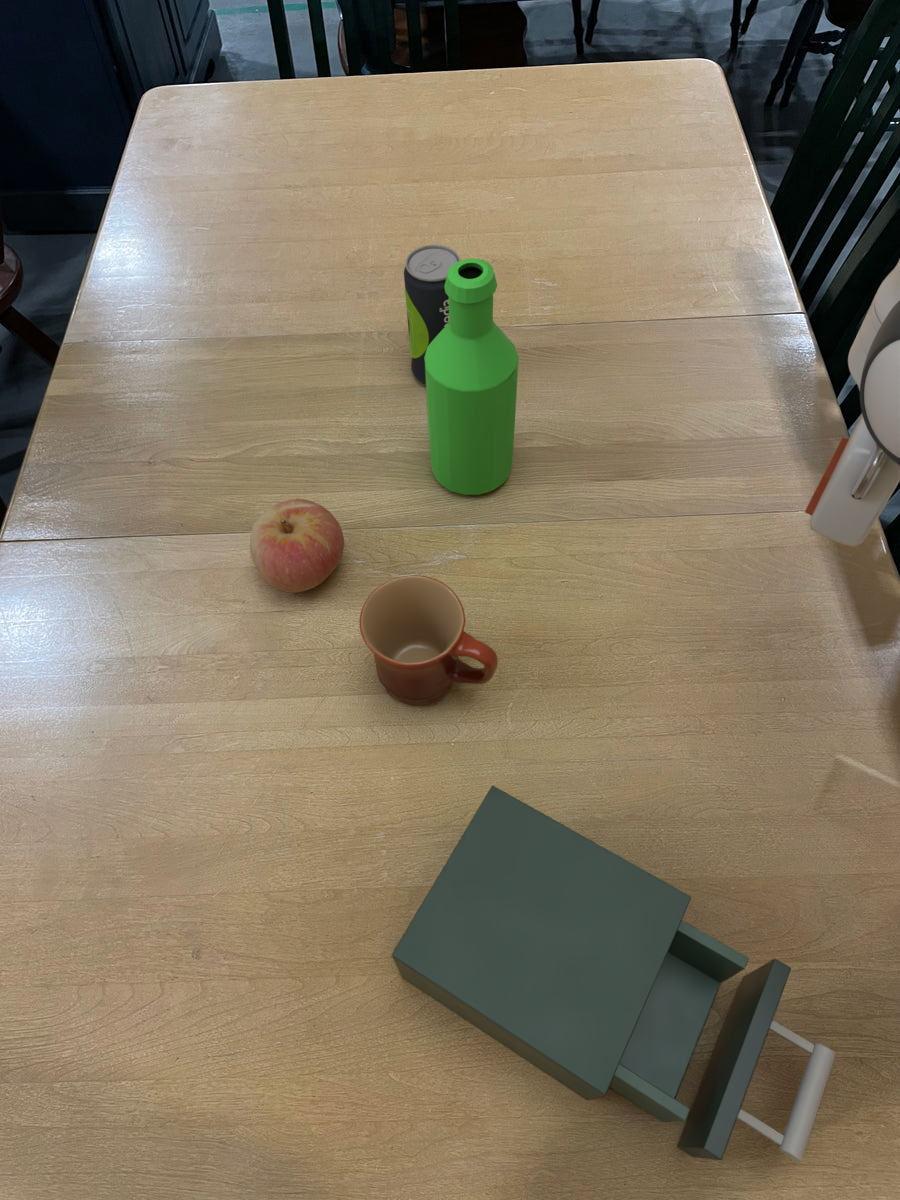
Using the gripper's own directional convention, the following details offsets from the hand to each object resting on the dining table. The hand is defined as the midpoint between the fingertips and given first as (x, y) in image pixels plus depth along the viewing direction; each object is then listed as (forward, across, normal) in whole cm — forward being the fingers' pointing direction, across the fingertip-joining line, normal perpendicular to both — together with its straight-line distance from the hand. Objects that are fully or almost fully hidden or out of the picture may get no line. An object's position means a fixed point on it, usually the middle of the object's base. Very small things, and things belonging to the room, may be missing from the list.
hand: (849, 491), depth 66 cm
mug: (+18, -23, +25) cm, 38 cm away
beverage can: (+18, +12, +46) cm, 51 cm away
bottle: (+18, +1, +35) cm, 39 cm away
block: (+2, 0, 0) cm, 2 cm away
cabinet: (+19, -39, +6) cm, 43 cm away
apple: (+18, -19, +43) cm, 50 cm away
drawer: (+18, -39, -5) cm, 43 cm away
